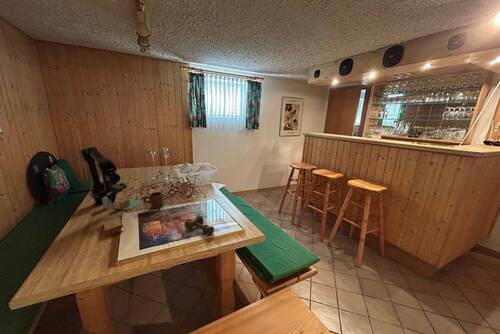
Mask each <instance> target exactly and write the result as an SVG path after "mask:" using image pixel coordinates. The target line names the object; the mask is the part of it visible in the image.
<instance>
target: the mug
mask: <svg viewBox="0 0 500 334" xmlns="http://www.w3.org/2000/svg"><path fill="white" fill-rule="evenodd" d="M147 199H149V200H147ZM163 199H164V198H163V194H162V192H160V191H156V192H151V193H150V194H149V195H146V196H144V197H143V198H142V201H144V204H150V207H151V208H152V209H154V208H157V209H161V208H163V206H164V200H163ZM160 207H161V208H160Z"/></svg>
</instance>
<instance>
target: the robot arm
mask: <svg viewBox="0 0 500 334" xmlns="http://www.w3.org/2000/svg"><path fill="white" fill-rule="evenodd" d="M78 155H79V156H80V158H81V160H82V161H84V162H85V163H86V167H87V170H88V171H87V172H88V173H89V177H90V181H91V184H90V186H89V189H90V190H89V197H90V198H92V199H93V200H94V203H92V205H93V206H94V205H95V206H103V201H102V198H104V197H107V198H108V199H109V200H110V201H111V202H112V203H113V204H114V203H115V202H116V198H117V194H119V193H120V192H124V190H125V189H127V188H128V186H127V184H125V182H121V183H119V182H120V180H122V179H121V175H120V174H118V173H116V172H117V171H118V169H117V166H116V165H115V163H114V162H113V161H112V160H111V159H109V158H107V157H104V155H103V154H101V153H100V151H99V150H98V148H97V147H95V146H91V147H90V146H89V147H87V148H84V149H81V150H80V151H79V152H78ZM98 171H99V172H100V174H101V178H102V182H101V180H100V176H99V172H98Z"/></svg>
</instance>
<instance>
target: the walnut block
mask: <svg viewBox="0 0 500 334" xmlns="http://www.w3.org/2000/svg"><path fill="white" fill-rule="evenodd" d="M113 204H114V206H115V210H120V209H121V208H124V207H127V206H130V200H129V199H122V200H119V201H115V203H113Z"/></svg>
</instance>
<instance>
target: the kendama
mask: <svg viewBox="0 0 500 334" xmlns="http://www.w3.org/2000/svg"><path fill="white" fill-rule="evenodd" d="M196 226H197V227H198V228H199V229H200V230H201V232H202V233H205V234H206V235H207V237H211V236H212V235H213V233H214V232H215V228H214V226H209V225H208V224H204V218H203V216H202V215H197V216H196V217H195V218H194V219H189V218H187V219H186V221H185V222H184V228H185V230H186V231H188V232H191V231H192V230H193V229H194V228H195V227H196Z"/></svg>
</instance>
